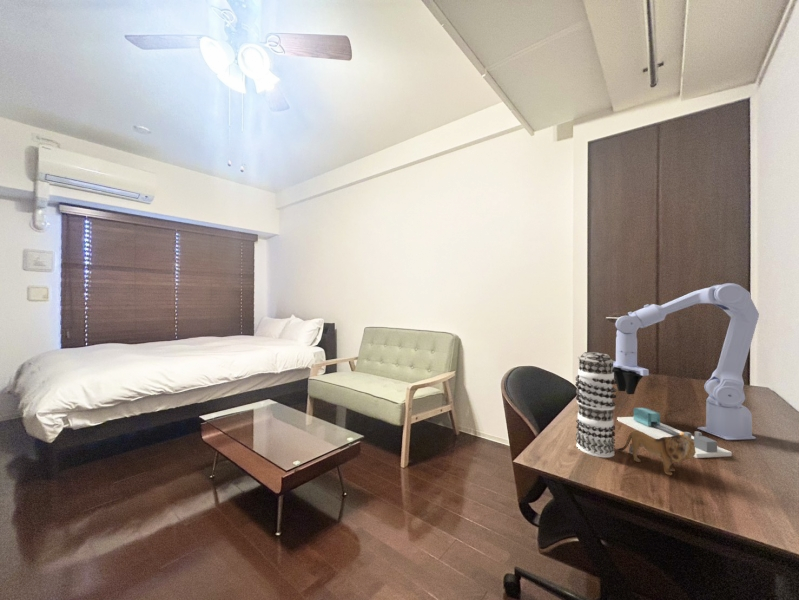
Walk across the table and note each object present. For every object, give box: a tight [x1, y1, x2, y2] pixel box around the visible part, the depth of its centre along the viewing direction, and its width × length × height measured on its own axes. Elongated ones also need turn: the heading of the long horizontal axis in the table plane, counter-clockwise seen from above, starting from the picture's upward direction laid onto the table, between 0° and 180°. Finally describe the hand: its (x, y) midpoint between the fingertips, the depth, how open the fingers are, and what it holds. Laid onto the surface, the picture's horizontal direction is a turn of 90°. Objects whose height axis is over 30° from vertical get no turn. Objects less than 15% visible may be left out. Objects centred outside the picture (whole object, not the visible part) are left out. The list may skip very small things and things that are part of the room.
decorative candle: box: [574, 351, 617, 458], centre depth 80 cm, size 9×9×25 cm
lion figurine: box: [617, 430, 696, 476], centre depth 73 cm, size 15×5×9 cm, turn 33°
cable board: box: [616, 415, 733, 459], centre depth 88 cm, size 10×24×4 cm, turn 7°
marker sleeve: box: [633, 407, 661, 426], centre depth 95 cm, size 4×5×4 cm
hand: (626, 392), depth 102 cm, fingers open, 3 cm apart
